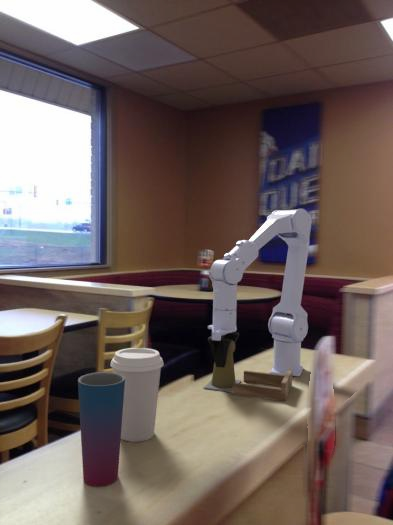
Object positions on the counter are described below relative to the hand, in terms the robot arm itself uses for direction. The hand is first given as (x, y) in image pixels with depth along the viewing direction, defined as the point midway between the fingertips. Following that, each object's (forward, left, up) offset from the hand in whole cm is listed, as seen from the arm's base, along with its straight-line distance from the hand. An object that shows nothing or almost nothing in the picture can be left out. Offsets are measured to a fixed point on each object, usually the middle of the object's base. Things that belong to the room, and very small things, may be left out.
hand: (223, 364), depth 115 cm
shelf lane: (0, +10, -5) cm, 11 cm away
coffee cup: (+34, -7, -5) cm, 35 cm away
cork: (0, 0, -5) cm, 5 cm away
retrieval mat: (0, 0, -5) cm, 5 cm away
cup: (+50, -5, -5) cm, 51 cm away
